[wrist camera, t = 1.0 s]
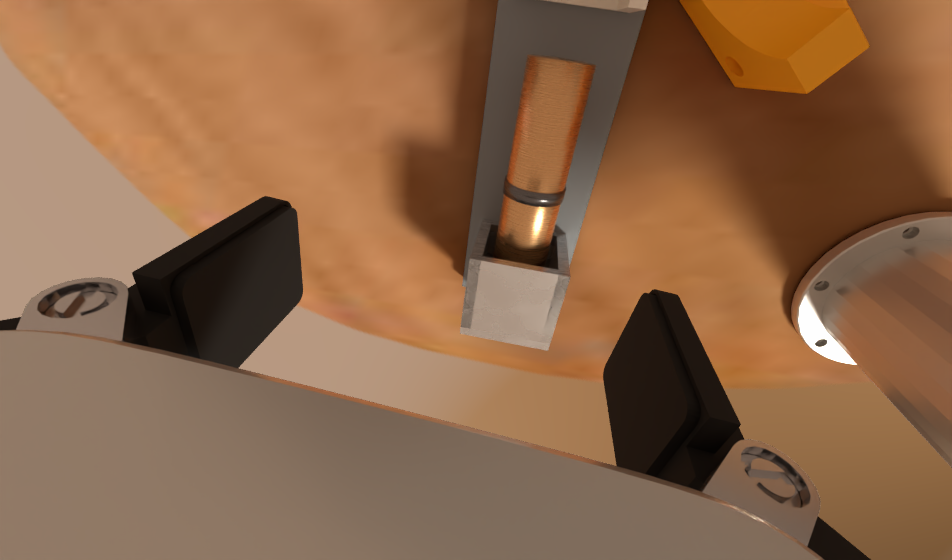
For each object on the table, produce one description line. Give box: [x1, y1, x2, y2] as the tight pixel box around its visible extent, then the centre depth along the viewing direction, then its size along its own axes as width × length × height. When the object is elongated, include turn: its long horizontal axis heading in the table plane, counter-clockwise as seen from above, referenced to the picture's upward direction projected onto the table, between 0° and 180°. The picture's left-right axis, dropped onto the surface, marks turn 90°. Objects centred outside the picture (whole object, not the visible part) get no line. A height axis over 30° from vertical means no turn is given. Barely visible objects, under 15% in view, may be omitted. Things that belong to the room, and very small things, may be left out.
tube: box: [493, 54, 596, 267], centre depth 25 cm, size 4×16×4 cm, turn 173°
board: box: [462, 0, 647, 287], centre depth 26 cm, size 8×24×1 cm, turn 173°
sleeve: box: [460, 219, 570, 351], centre depth 28 cm, size 6×6×6 cm
